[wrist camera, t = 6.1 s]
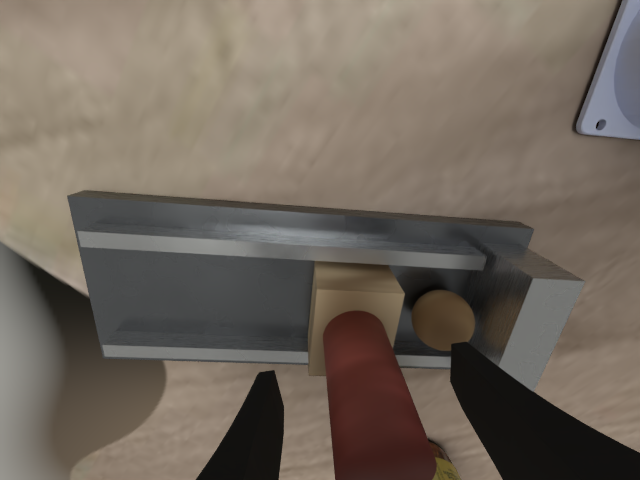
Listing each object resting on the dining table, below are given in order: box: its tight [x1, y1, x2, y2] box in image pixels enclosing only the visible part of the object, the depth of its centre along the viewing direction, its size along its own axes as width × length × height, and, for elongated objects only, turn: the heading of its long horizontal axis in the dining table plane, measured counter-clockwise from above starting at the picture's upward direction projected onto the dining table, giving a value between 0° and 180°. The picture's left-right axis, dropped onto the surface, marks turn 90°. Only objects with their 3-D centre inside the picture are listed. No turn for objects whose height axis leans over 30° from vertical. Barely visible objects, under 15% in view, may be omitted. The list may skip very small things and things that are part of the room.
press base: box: [67, 191, 585, 392], centre depth 16 cm, size 24×10×5 cm, turn 85°
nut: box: [411, 290, 475, 351], centre depth 16 cm, size 3×3×3 cm
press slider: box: [308, 261, 437, 480], centre depth 13 cm, size 4×5×9 cm
